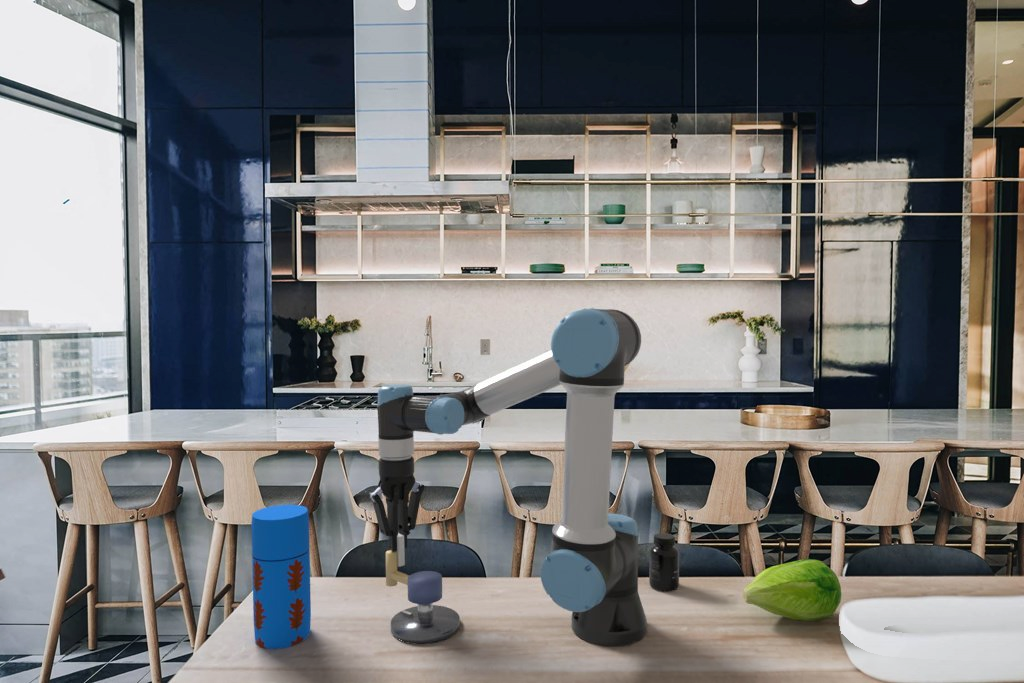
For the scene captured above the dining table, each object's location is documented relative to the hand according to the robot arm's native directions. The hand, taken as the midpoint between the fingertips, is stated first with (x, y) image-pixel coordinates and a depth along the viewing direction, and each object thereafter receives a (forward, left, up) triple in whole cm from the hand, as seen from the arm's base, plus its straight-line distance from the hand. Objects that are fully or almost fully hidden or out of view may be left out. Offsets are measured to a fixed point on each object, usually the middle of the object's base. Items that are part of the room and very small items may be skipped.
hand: (398, 564), depth 143 cm
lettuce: (-71, -43, -10) cm, 83 cm away
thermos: (+11, +22, -10) cm, 26 cm away
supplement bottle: (-43, -44, -10) cm, 62 cm away
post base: (-11, +3, -10) cm, 15 cm away
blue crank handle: (-6, +2, -4) cm, 8 cm away
